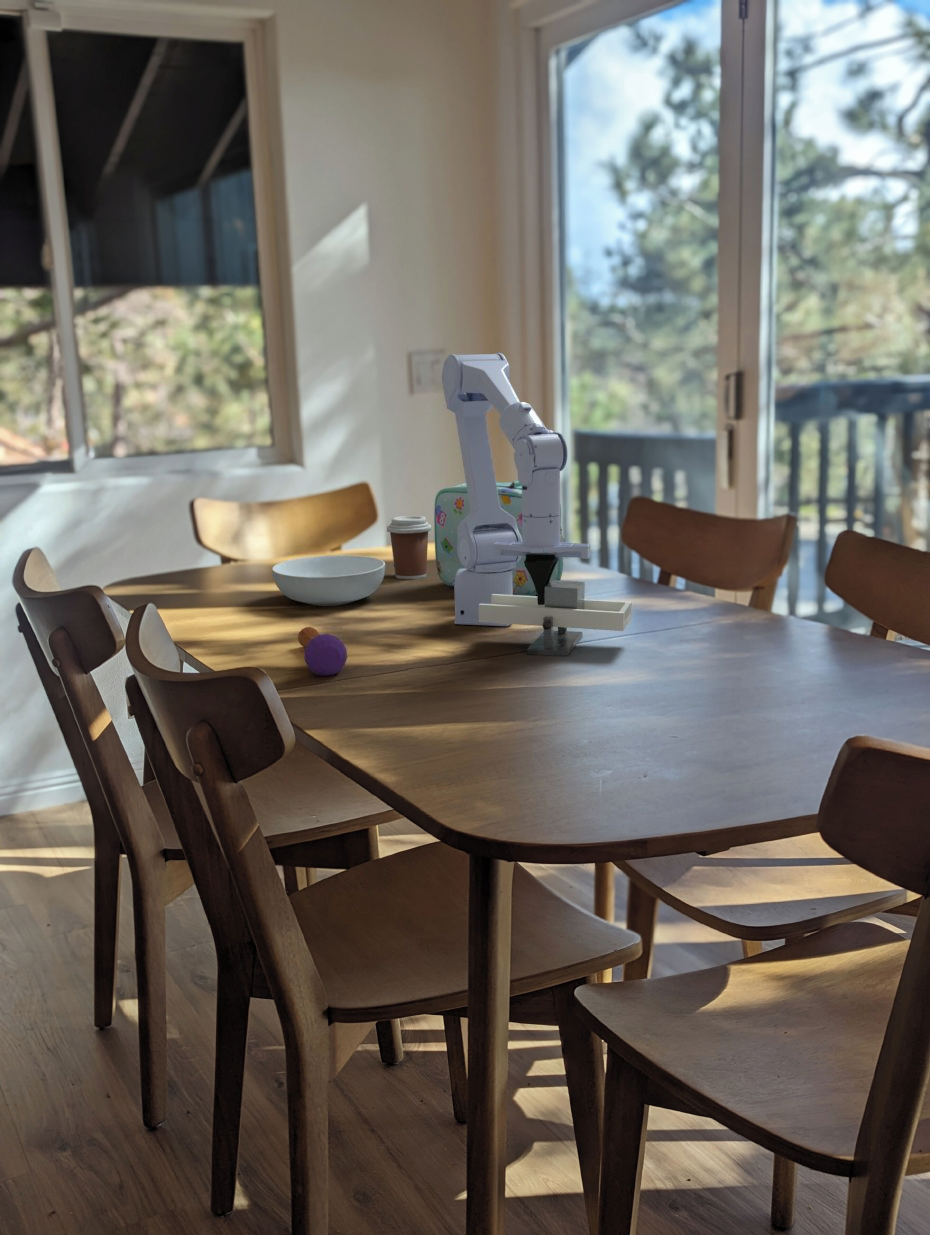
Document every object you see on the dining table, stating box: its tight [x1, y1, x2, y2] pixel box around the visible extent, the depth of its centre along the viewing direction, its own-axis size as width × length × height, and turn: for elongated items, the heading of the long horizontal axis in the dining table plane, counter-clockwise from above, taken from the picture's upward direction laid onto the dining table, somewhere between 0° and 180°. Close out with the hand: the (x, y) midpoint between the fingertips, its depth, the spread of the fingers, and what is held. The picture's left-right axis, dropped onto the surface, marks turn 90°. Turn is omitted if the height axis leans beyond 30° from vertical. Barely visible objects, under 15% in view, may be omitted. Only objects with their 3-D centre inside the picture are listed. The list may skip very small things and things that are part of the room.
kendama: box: [297, 626, 348, 677], centre depth 169 cm, size 6×6×20 cm
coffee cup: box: [386, 515, 432, 580], centre depth 232 cm, size 9×9×12 cm
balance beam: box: [479, 594, 633, 632], centre depth 173 cm, size 22×8×3 cm, turn 73°
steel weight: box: [545, 580, 586, 610], centre depth 173 cm, size 5×5×4 cm
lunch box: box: [433, 480, 566, 596], centre depth 214 cm, size 27×10×21 cm, turn 50°
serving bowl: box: [271, 554, 386, 607], centre depth 211 cm, size 21×21×7 cm
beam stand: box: [526, 617, 583, 657], centre depth 174 cm, size 6×12×6 cm, turn 163°
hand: (542, 603), depth 174 cm, fingers closed
